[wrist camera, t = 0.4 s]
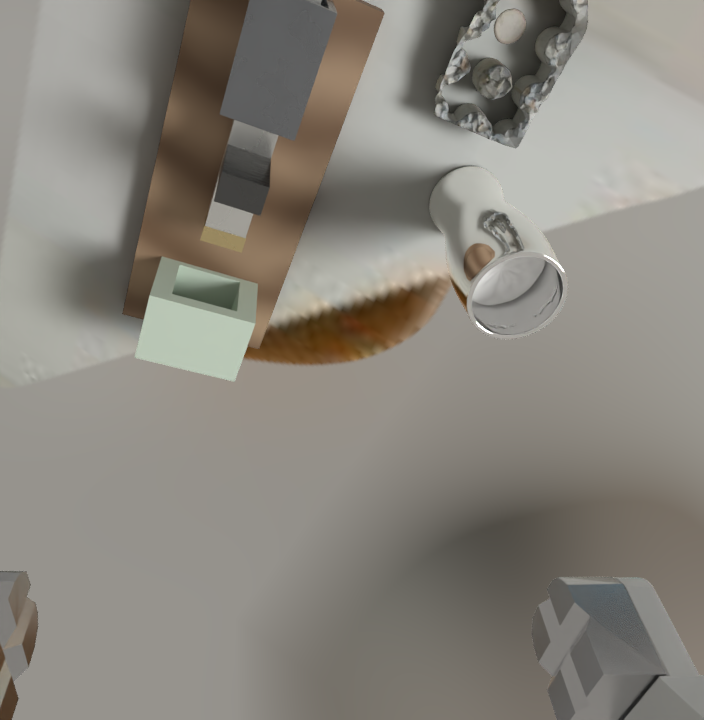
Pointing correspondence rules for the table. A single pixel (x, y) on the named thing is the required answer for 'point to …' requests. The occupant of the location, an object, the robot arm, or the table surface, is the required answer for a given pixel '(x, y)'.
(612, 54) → the table surface
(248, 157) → the light grey bar piece
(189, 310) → the socket
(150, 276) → the base board
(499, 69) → the egg carton
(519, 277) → the beer glass
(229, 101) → the sleeve
